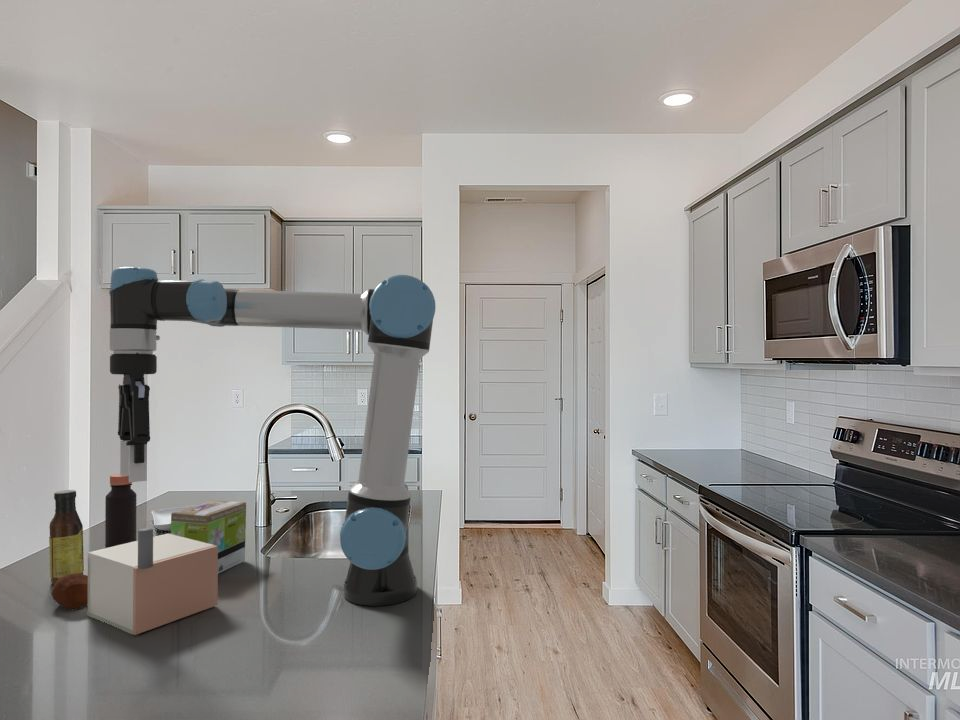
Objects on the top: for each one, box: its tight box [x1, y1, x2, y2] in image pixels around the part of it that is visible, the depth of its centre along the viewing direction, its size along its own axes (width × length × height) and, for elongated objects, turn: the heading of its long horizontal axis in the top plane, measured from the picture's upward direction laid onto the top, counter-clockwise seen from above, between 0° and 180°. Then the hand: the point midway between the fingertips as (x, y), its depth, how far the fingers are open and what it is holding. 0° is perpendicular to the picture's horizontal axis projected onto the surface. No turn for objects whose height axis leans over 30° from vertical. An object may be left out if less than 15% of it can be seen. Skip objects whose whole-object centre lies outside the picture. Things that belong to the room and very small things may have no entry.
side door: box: [133, 527, 219, 636], centre depth 117 cm, size 16×2×18 cm, turn 148°
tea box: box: [170, 499, 247, 575], centre depth 146 cm, size 15×10×15 cm, turn 168°
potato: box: [51, 573, 88, 611], centre depth 124 cm, size 7×9×6 cm
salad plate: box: [151, 504, 196, 532], centre depth 190 cm, size 21×21×3 cm
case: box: [87, 533, 215, 636], centre depth 122 cm, size 16×16×12 cm
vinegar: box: [104, 473, 137, 549], centre depth 158 cm, size 7×7×20 cm
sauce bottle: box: [48, 489, 85, 586], centre depth 138 cm, size 7×6×20 cm
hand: (133, 477), depth 115 cm, fingers open, 7 cm apart
